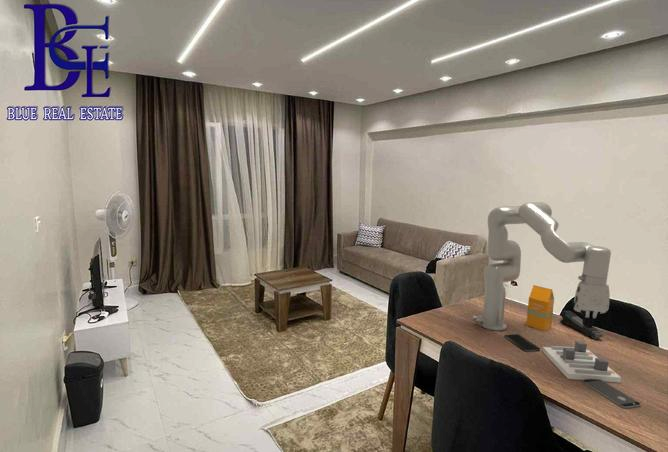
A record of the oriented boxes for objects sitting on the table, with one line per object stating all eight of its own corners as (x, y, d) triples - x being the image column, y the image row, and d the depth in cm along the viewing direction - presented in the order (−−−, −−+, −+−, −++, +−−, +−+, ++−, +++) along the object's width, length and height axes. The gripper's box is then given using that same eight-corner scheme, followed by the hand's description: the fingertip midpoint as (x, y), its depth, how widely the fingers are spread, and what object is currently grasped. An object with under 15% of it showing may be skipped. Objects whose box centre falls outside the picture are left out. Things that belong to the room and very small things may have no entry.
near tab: (598, 372, 134) (599, 361, 134) (594, 368, 137) (595, 358, 136) (606, 373, 134) (608, 362, 134) (602, 369, 137) (604, 358, 136)
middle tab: (565, 361, 142) (566, 350, 142) (562, 358, 145) (563, 347, 144) (573, 361, 142) (575, 351, 141) (570, 358, 144) (571, 348, 144)
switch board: (567, 378, 134) (568, 370, 133) (542, 351, 155) (543, 344, 154) (620, 382, 132) (621, 374, 131) (587, 354, 153) (588, 347, 152)
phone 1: (525, 350, 154) (503, 334, 168) (524, 353, 154) (502, 337, 168) (541, 349, 155) (518, 333, 169) (541, 351, 155) (518, 336, 170)
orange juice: (544, 331, 175) (549, 291, 172) (526, 325, 181) (529, 286, 178) (551, 326, 179) (555, 288, 177) (532, 321, 186) (536, 283, 183)
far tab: (577, 354, 148) (578, 343, 148) (574, 350, 151) (575, 341, 150) (585, 354, 148) (586, 344, 147) (582, 351, 150) (583, 341, 150)
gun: (564, 320, 187) (571, 305, 182) (595, 350, 169) (604, 334, 165) (556, 321, 186) (564, 306, 181) (587, 351, 169) (596, 335, 164)
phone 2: (580, 382, 132) (623, 410, 117) (580, 380, 132) (624, 407, 117) (597, 380, 134) (642, 407, 119) (597, 377, 134) (642, 404, 118)
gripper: (577, 281, 131) (571, 329, 134) (622, 284, 129) (615, 332, 132) (567, 275, 138) (561, 321, 141) (609, 277, 137) (602, 323, 140)
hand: (587, 326), depth 137 cm, fingers closed
